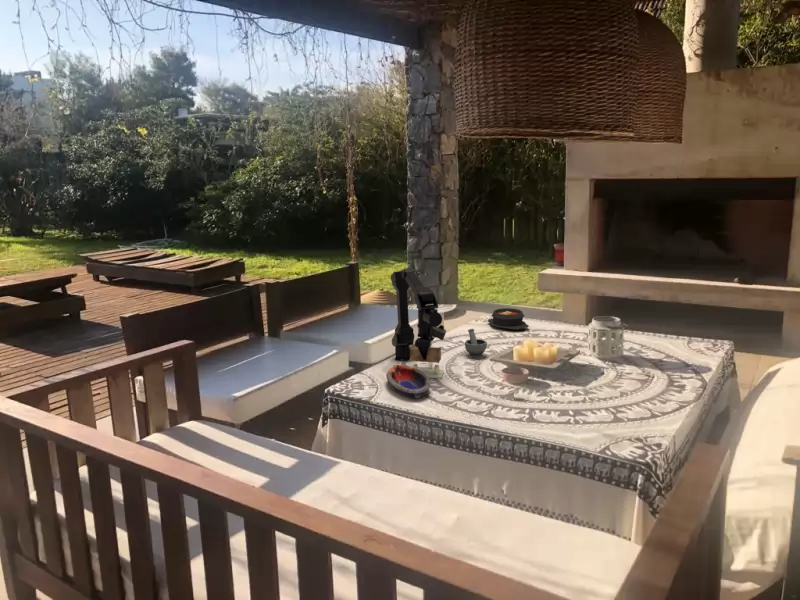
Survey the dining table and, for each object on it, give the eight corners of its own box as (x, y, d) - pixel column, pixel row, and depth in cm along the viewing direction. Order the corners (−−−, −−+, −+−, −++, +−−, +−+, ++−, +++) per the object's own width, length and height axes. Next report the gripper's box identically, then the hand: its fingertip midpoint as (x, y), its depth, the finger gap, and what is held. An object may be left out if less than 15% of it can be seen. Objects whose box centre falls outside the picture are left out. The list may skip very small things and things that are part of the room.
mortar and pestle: (490, 358, 287) (490, 332, 284) (471, 361, 284) (471, 334, 281) (479, 351, 297) (479, 326, 295) (460, 354, 294) (460, 328, 292)
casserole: (537, 329, 333) (537, 313, 331) (508, 334, 324) (508, 318, 323) (507, 319, 355) (507, 304, 353) (479, 324, 346) (479, 309, 344)
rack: (407, 377, 265) (407, 368, 264) (410, 370, 273) (410, 362, 272) (441, 378, 262) (441, 369, 262) (443, 371, 271) (443, 363, 270)
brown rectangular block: (410, 360, 266) (409, 349, 265) (412, 357, 270) (412, 346, 269) (438, 362, 263) (438, 350, 262) (440, 359, 267) (440, 347, 266)
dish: (398, 404, 237) (397, 391, 236) (380, 376, 266) (380, 364, 265) (438, 399, 240) (438, 386, 239) (417, 372, 269) (416, 360, 268)
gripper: (442, 327, 253) (442, 365, 256) (446, 315, 271) (447, 351, 274) (414, 326, 254) (414, 364, 258) (420, 315, 272) (421, 350, 276)
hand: (425, 357), depth 266 cm, fingers closed on brown rectangular block, 5 cm apart
